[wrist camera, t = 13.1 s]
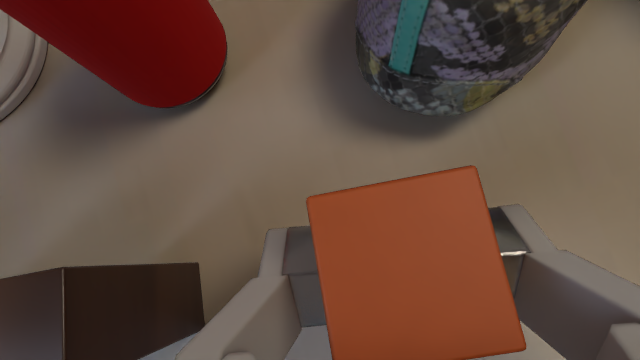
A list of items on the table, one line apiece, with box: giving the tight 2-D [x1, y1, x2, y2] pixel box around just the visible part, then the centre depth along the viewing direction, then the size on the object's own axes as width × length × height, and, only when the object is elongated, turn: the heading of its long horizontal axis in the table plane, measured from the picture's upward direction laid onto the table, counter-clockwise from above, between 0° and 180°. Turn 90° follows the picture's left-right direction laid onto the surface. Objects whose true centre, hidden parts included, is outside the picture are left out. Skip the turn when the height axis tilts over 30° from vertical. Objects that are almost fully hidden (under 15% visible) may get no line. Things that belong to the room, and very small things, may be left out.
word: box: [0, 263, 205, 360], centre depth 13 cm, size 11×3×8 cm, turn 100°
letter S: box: [306, 165, 526, 360], centre depth 9 cm, size 3×3×8 cm
